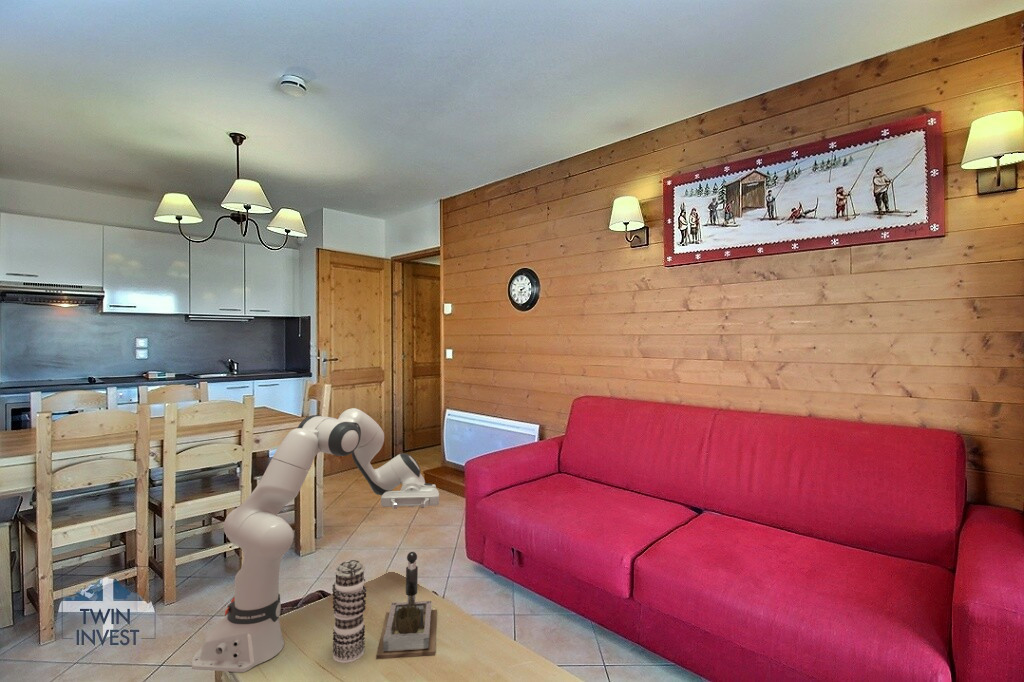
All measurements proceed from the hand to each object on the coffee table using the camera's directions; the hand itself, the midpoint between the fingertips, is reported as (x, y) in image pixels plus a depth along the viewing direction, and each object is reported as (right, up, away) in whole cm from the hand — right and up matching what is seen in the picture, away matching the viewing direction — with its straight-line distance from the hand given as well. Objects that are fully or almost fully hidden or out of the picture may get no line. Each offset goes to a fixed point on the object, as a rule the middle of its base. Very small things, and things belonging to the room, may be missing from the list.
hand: (408, 506), depth 166 cm
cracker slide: (+4, -30, -19) cm, 36 cm away
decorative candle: (-11, -32, -29) cm, 44 cm away
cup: (+4, -32, -22) cm, 39 cm away
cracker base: (+4, -32, -19) cm, 37 cm away
